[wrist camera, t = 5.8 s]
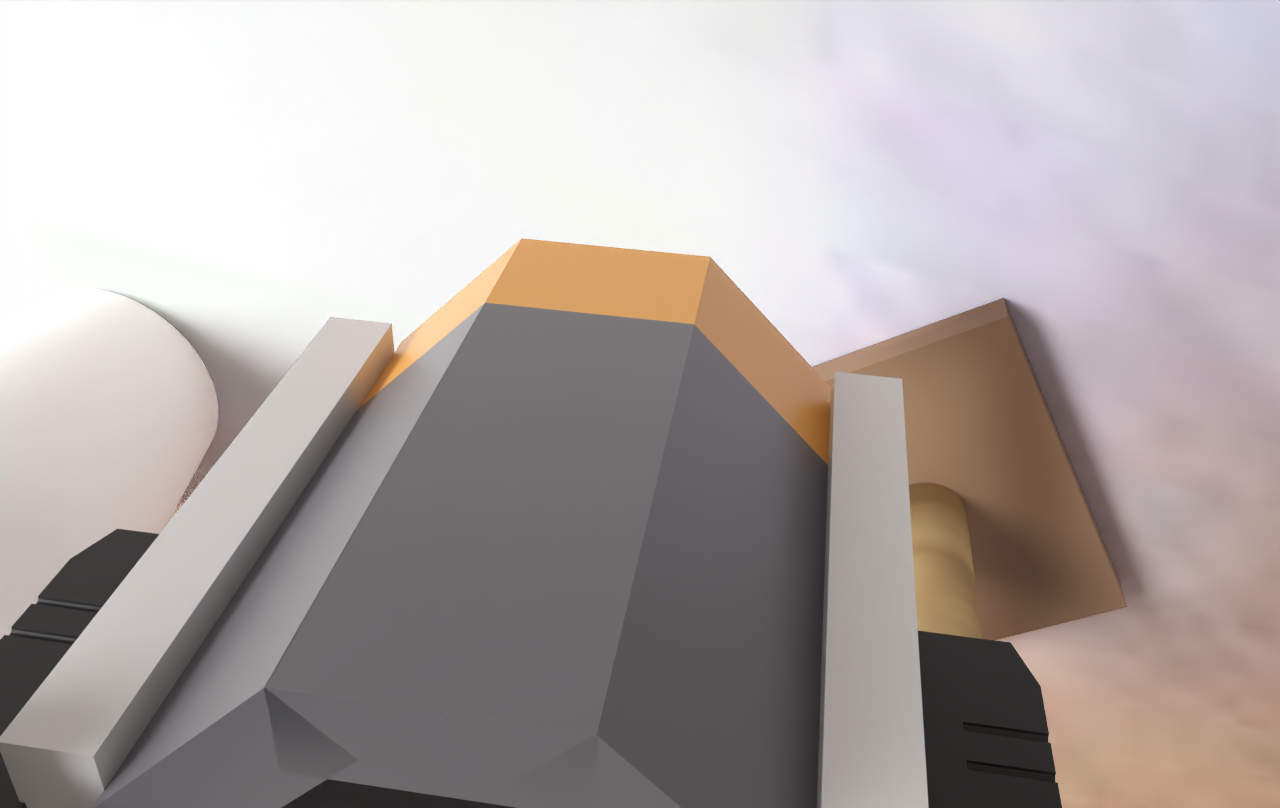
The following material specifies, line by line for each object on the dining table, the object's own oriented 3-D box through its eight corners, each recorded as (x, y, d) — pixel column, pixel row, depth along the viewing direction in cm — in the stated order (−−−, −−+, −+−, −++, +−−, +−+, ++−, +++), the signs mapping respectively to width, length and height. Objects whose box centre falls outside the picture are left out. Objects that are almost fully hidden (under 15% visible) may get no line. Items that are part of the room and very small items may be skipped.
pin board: (586, 722, 40) (539, 901, 35) (430, 504, 36) (348, 665, 30) (1120, 583, 34) (1174, 775, 28) (1003, 297, 30) (1038, 453, 24)
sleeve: (392, 225, 14) (40, 655, 8) (847, 270, 13) (845, 771, 7) (421, 571, 16) (181, 1079, 10) (797, 620, 16) (764, 1187, 10)
